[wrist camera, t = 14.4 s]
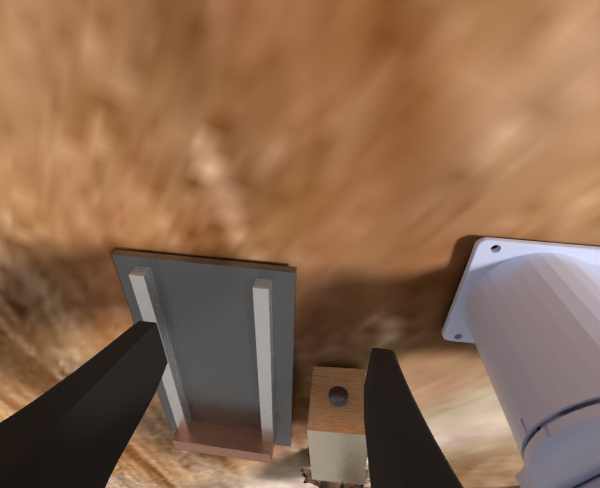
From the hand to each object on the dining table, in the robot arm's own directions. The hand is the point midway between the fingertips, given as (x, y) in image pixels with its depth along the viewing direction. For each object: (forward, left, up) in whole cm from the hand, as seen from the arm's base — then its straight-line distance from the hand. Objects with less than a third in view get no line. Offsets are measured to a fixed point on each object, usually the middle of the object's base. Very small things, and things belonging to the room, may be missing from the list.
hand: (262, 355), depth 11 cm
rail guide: (+6, +13, -9) cm, 17 cm away
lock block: (-4, +16, -10) cm, 19 cm away
